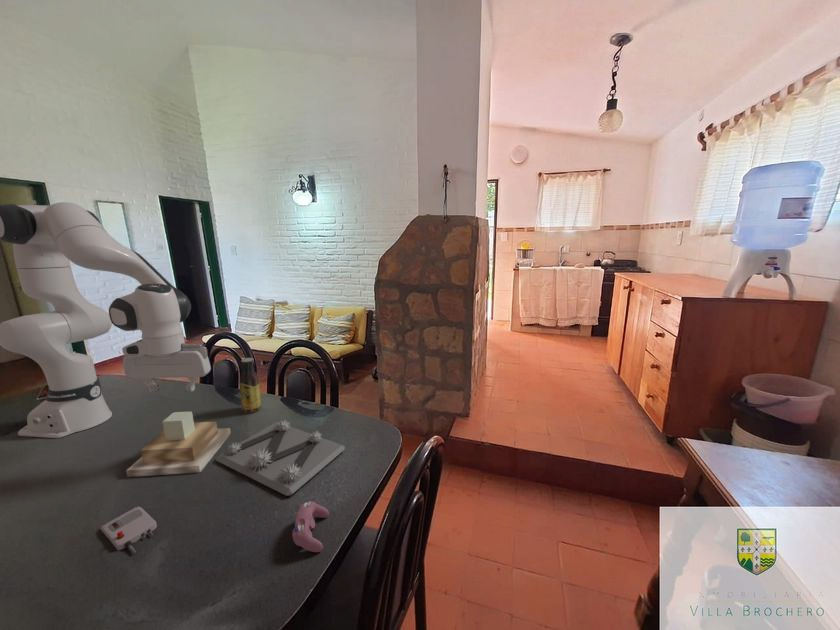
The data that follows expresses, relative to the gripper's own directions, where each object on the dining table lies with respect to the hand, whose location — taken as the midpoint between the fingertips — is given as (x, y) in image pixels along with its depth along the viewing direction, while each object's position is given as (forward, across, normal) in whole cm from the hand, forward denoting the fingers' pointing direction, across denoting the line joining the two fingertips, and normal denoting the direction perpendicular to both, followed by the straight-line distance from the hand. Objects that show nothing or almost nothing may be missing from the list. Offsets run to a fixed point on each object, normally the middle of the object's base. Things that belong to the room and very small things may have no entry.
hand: (172, 391), depth 91 cm
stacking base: (+20, 0, 0) cm, 20 cm away
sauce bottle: (+20, -10, -24) cm, 33 cm away
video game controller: (+19, -44, +32) cm, 57 cm away
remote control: (+20, -4, +27) cm, 34 cm away
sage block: (+14, 0, 0) cm, 14 cm away
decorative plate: (+20, -29, +4) cm, 36 cm away
